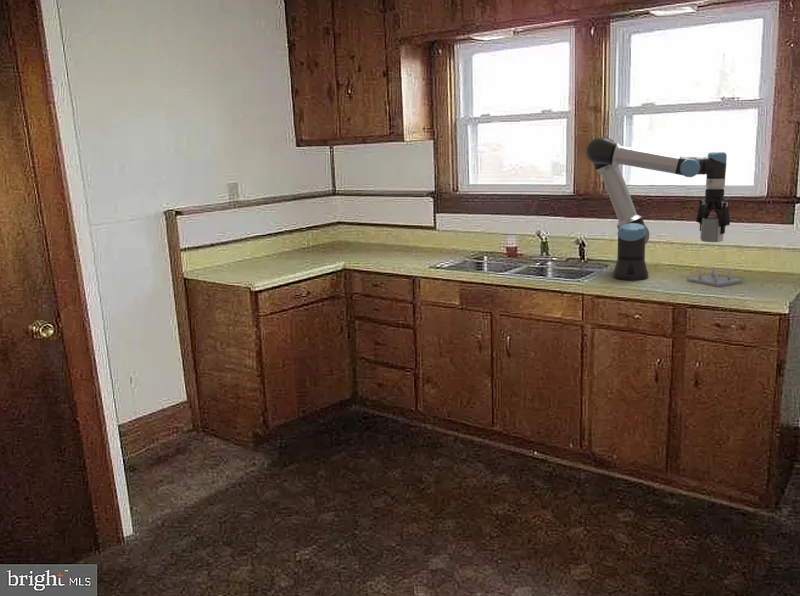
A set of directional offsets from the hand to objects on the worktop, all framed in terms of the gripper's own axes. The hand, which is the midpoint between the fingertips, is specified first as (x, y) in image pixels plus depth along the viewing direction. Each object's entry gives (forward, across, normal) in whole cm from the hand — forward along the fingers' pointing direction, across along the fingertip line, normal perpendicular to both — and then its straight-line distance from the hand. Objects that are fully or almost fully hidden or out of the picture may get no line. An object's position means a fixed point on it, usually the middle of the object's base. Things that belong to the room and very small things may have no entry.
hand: (711, 239), depth 313 cm
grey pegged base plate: (+15, +12, -12) cm, 23 cm away
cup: (+1, 0, 0) cm, 1 cm away
